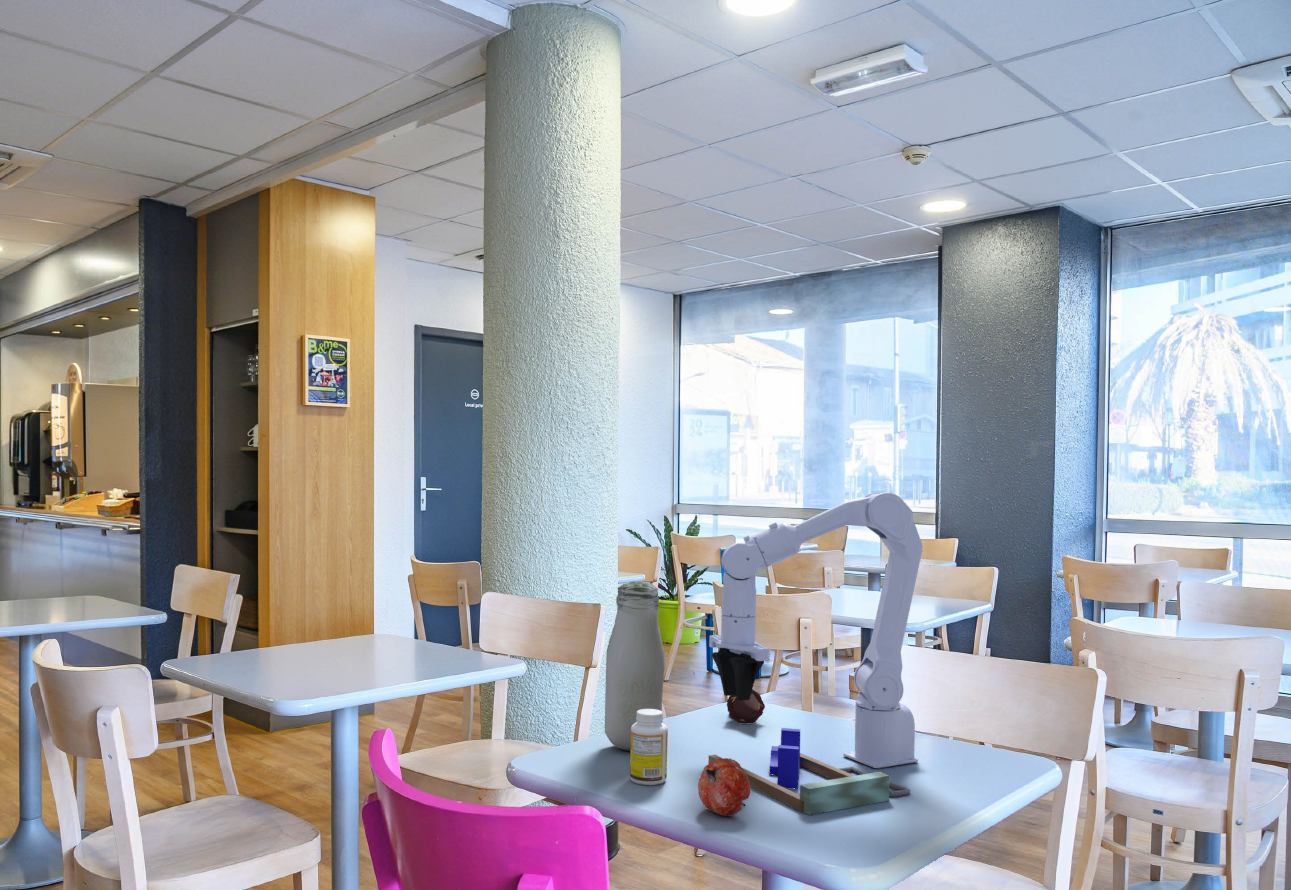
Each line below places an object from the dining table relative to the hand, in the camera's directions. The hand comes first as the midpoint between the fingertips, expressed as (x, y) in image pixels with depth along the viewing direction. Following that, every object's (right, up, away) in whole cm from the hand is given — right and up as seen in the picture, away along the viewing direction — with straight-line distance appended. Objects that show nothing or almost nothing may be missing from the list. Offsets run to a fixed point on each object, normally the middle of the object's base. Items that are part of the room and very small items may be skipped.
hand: (736, 697), depth 153 cm
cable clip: (+6, -9, -11) cm, 16 cm away
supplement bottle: (-15, -8, -15) cm, 23 cm away
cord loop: (+19, -9, -14) cm, 25 cm away
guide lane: (+7, -9, -14) cm, 18 cm away
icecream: (+4, -11, +21) cm, 24 cm away
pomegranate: (-4, -8, -28) cm, 29 cm away
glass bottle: (-17, -9, +1) cm, 20 cm away
